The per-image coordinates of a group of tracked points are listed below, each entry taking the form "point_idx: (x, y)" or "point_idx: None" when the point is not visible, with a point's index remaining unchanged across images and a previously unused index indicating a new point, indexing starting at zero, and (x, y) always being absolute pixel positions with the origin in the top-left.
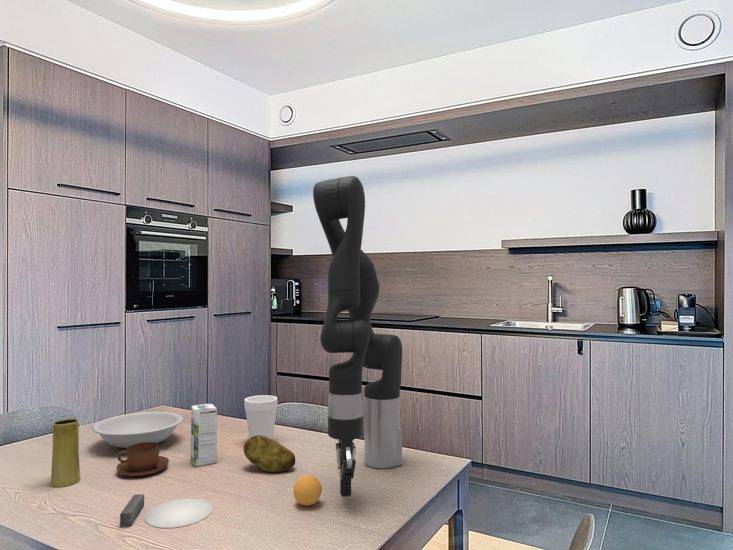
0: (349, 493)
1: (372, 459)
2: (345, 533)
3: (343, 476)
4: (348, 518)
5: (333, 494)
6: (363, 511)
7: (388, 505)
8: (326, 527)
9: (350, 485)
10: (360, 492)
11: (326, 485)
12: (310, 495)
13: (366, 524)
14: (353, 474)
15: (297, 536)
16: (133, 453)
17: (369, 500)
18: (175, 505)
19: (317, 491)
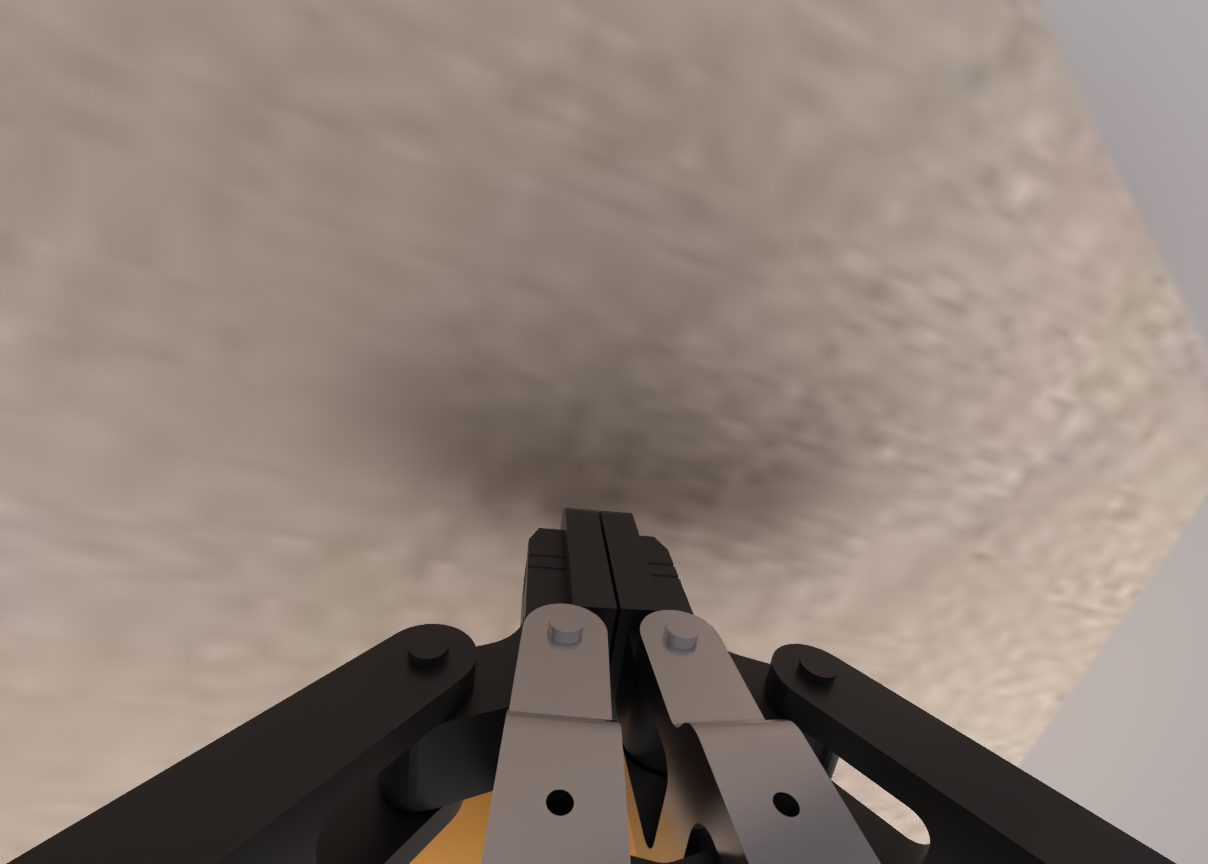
0: (660, 546)
1: None
2: (1020, 602)
3: (848, 804)
4: (846, 546)
5: (382, 572)
6: (790, 416)
7: (774, 150)
8: (894, 688)
9: (644, 568)
10: (388, 330)
11: (153, 596)
12: None
13: (990, 451)
14: (931, 720)
15: (911, 821)
16: None
17: (602, 300)
18: None
19: (629, 827)
